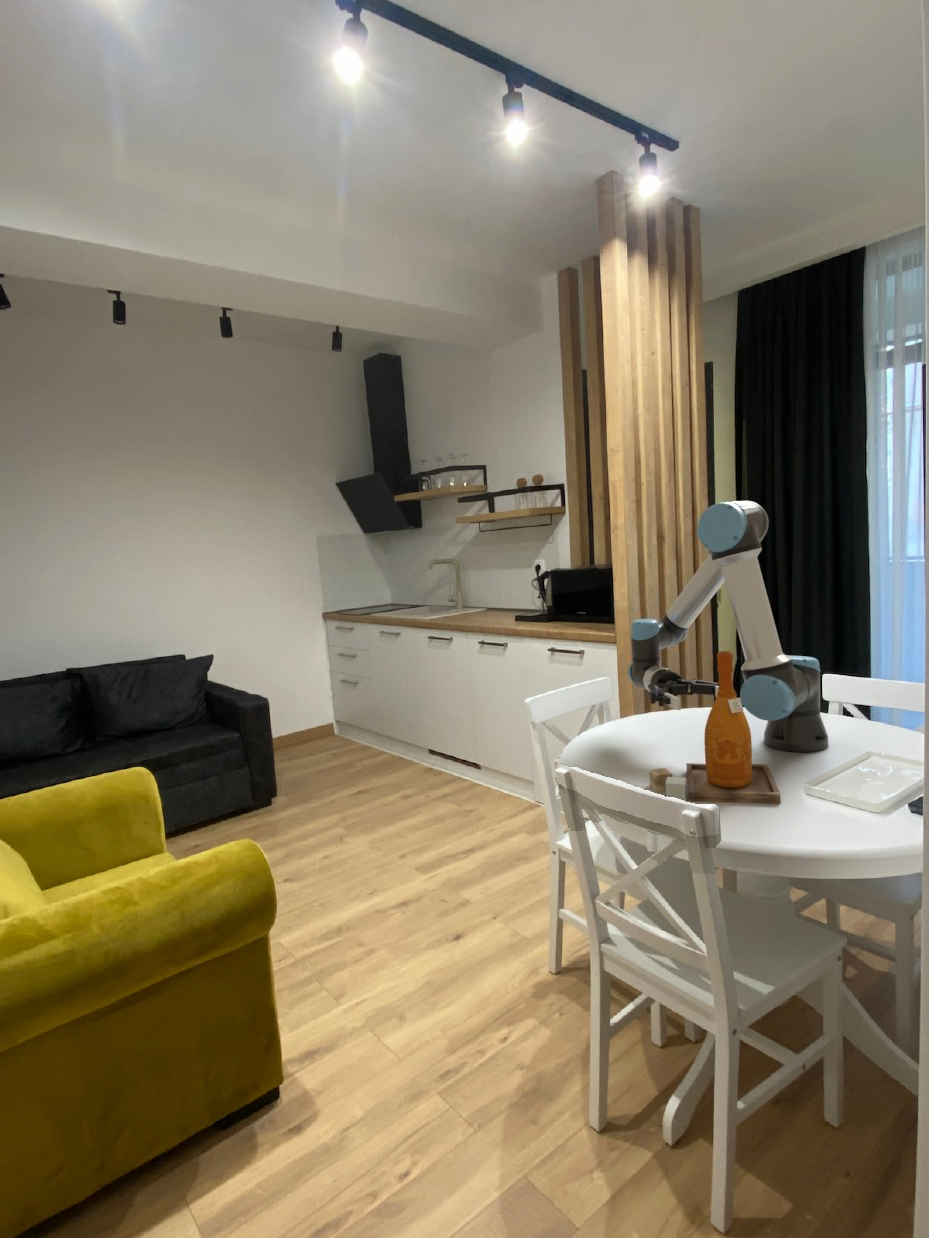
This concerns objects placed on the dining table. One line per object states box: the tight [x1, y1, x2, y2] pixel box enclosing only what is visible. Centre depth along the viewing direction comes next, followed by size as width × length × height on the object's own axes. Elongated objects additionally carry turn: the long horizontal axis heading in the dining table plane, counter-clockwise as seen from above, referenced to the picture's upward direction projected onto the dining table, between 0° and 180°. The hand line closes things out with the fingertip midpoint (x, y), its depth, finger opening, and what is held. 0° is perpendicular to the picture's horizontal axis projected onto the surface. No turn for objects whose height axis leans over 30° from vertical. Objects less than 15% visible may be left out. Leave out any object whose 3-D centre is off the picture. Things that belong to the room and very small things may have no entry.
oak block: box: [648, 767, 674, 793], centre depth 157 cm, size 4×4×4 cm
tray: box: [685, 762, 782, 804], centre depth 155 cm, size 18×18×2 cm
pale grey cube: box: [665, 776, 688, 801], centre depth 151 cm, size 4×4×4 cm
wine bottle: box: [703, 650, 753, 788], centre depth 153 cm, size 10×10×30 cm
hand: (705, 700), depth 162 cm, fingers open, 13 cm apart
